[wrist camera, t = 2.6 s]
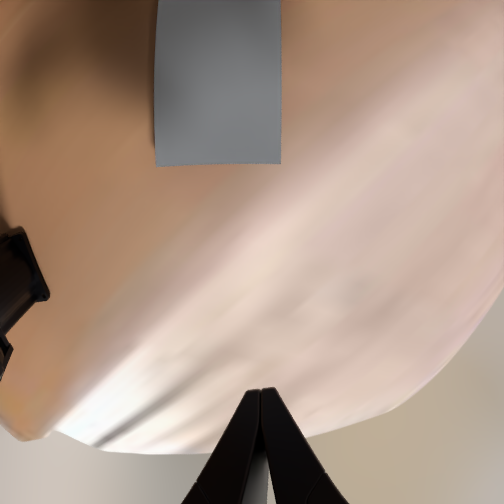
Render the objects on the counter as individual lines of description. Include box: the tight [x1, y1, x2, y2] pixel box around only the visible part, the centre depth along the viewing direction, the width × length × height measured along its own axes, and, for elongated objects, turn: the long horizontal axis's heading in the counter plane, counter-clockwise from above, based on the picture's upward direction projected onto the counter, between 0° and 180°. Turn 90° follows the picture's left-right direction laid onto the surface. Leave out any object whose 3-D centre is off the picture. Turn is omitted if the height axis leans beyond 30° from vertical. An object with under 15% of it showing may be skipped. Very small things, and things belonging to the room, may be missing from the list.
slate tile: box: [154, 0, 281, 167], centre depth 14 cm, size 14×7×2 cm, turn 0°
